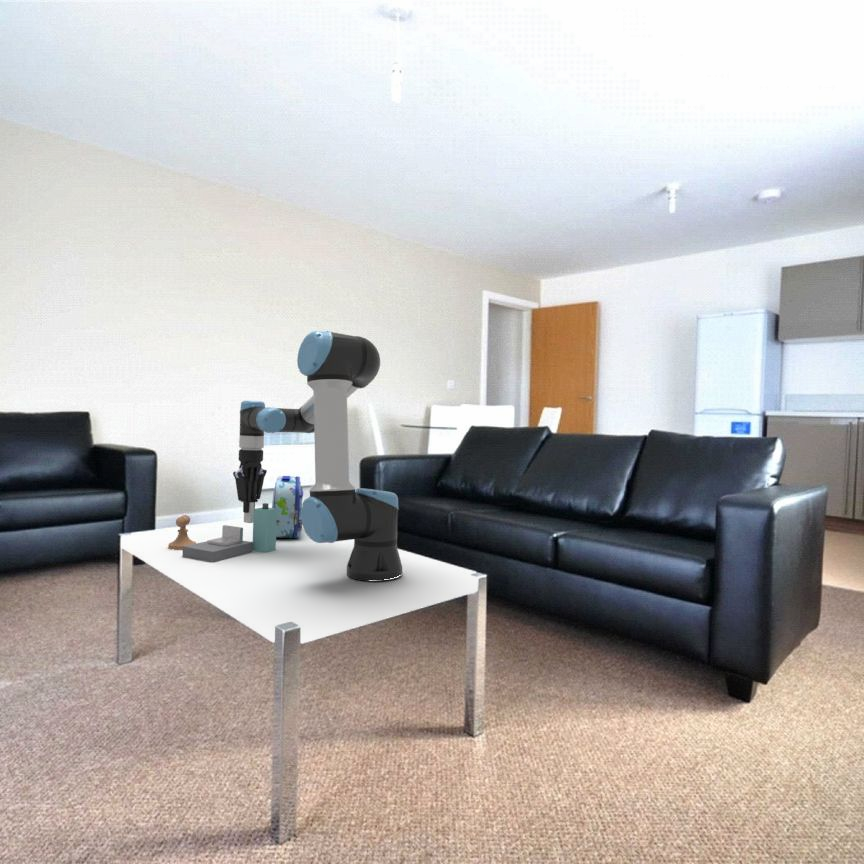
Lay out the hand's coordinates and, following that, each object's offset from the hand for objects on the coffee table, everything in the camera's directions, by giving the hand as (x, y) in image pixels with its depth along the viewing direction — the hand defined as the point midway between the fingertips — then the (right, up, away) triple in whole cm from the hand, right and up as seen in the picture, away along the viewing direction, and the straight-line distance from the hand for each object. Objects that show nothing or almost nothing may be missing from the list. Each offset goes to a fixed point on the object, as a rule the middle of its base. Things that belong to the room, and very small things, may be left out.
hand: (248, 522), depth 186 cm
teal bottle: (+6, -8, -4) cm, 11 cm away
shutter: (-4, -5, -9) cm, 11 cm away
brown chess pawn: (-20, -7, -4) cm, 21 cm away
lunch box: (+6, -8, +23) cm, 25 cm away
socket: (-5, -8, -11) cm, 15 cm away
